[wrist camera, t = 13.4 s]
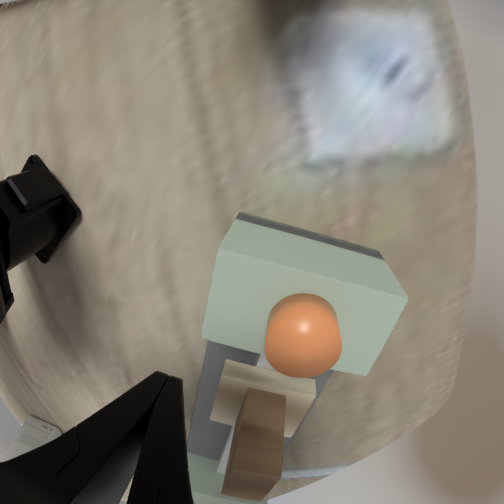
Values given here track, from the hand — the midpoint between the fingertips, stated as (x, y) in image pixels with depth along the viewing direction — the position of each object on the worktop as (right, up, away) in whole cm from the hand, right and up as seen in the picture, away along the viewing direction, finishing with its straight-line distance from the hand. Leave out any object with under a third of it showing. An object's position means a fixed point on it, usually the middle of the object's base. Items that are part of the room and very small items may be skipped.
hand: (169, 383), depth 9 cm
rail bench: (+3, -8, +16) cm, 18 cm away
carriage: (+3, -6, +12) cm, 13 cm away
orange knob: (+5, +1, +7) cm, 9 cm away
